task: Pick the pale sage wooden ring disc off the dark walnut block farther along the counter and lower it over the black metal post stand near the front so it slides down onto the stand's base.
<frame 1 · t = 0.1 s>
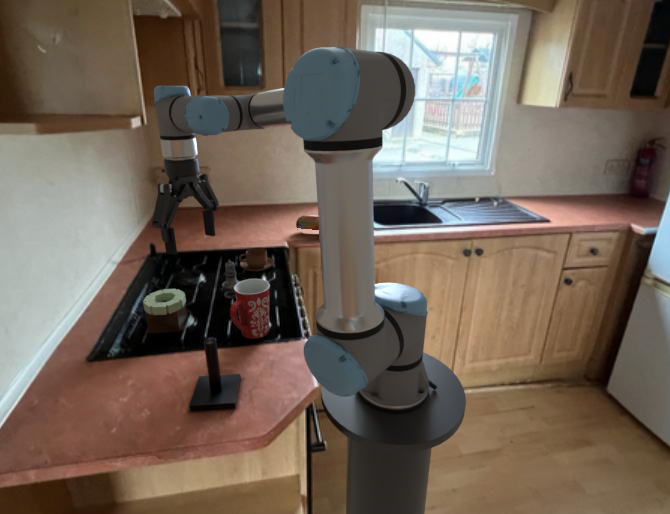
hand: (192, 244, 101), 25 cm above the worktop, tool pointing down, fingers open, 13 cm apart
ring disc: (165, 305, 110), point 6 cm above the worktop, touching riser
cup and saucer: (257, 267, 148), on the worktop
riser: (168, 324, 112), on the worktop
tin: (313, 234, 181), on the worktop
stand: (216, 394, 87), on the worktop
mug: (251, 335, 108), on the worktop
grey chess piece: (232, 294, 129), on the worktop
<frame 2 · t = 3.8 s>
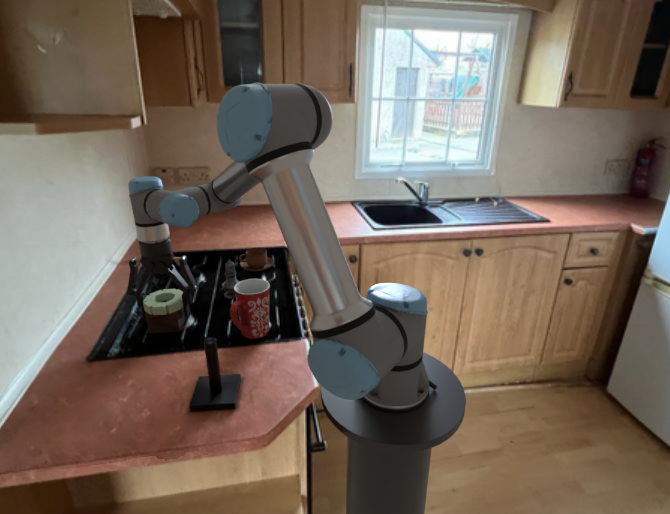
hand: (167, 315, 111), 3 cm above the worktop, tool pointing down, fingers closed on ring disc, 10 cm apart
ring disc: (165, 305, 110), point 6 cm above the worktop, touching gripper, riser
everything else where it was.
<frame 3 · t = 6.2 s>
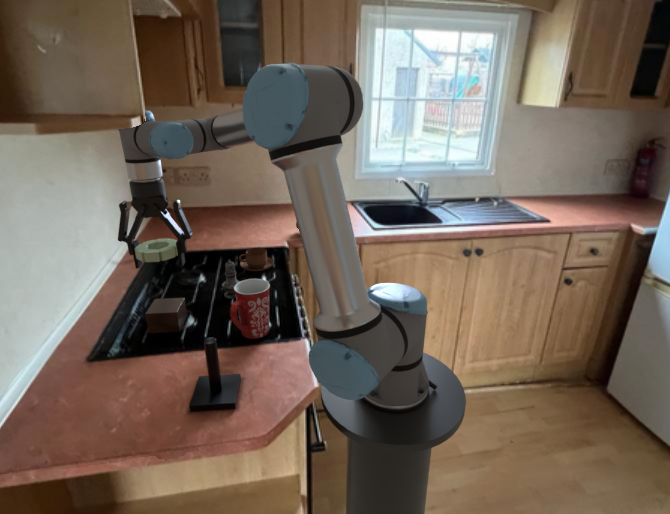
hand: (160, 265, 104), 18 cm above the worktop, tool pointing down, fingers closed on ring disc, 10 cm apart
ring disc: (159, 254, 103), point 22 cm above the worktop, touching gripper
everything else where it was.
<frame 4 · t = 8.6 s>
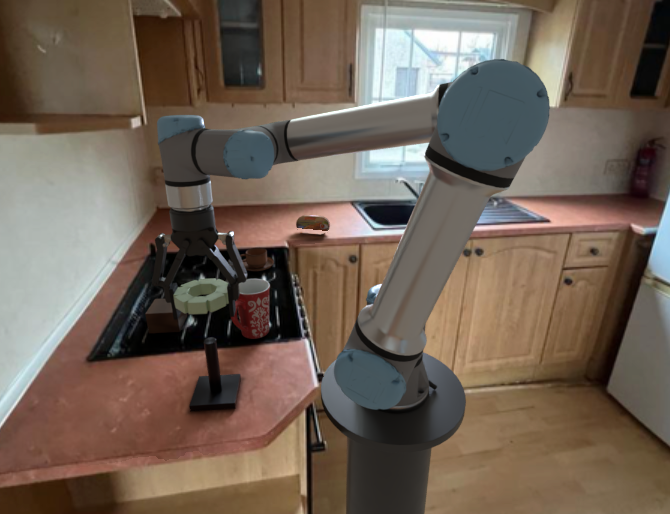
hand: (205, 314, 81), 19 cm above the worktop, tool pointing down, fingers closed on ring disc, 10 cm apart
ring disc: (203, 300, 80), point 22 cm above the worktop, touching gripper
everything else where it was.
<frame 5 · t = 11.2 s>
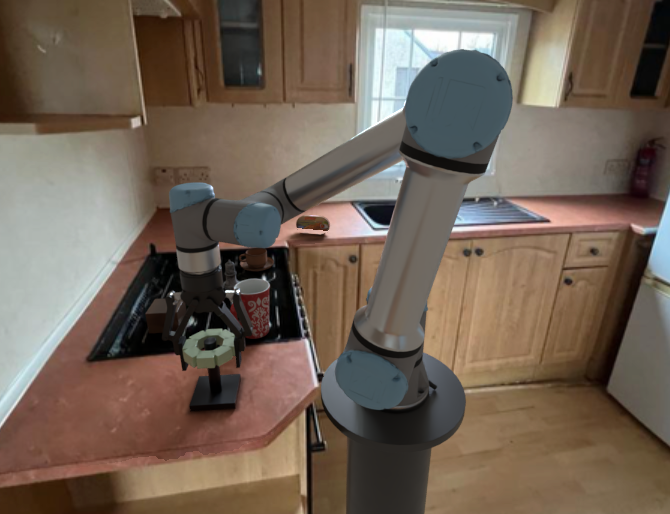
hand: (212, 365, 84), 8 cm above the worktop, tool pointing down, fingers closed on ring disc, 10 cm apart
ring disc: (211, 352, 83), point 11 cm above the worktop, touching gripper
everything else where it was.
when the fingers open (0 cm above the worktop, at t = 13.4 s): ring disc drops 2 cm, resting on stand.
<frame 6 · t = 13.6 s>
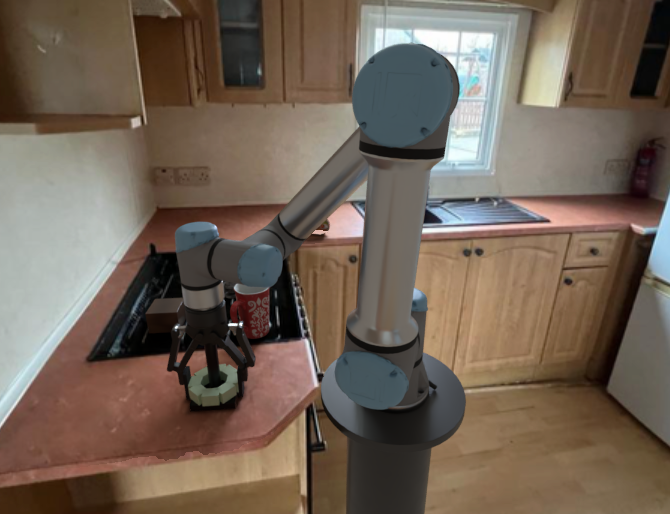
hand: (216, 393, 87), 0 cm above the worktop, tool pointing down, fingers open, 10 cm apart
ring disc: (215, 388, 86), point 2 cm above the worktop, touching gripper, stand
everything else where it was.
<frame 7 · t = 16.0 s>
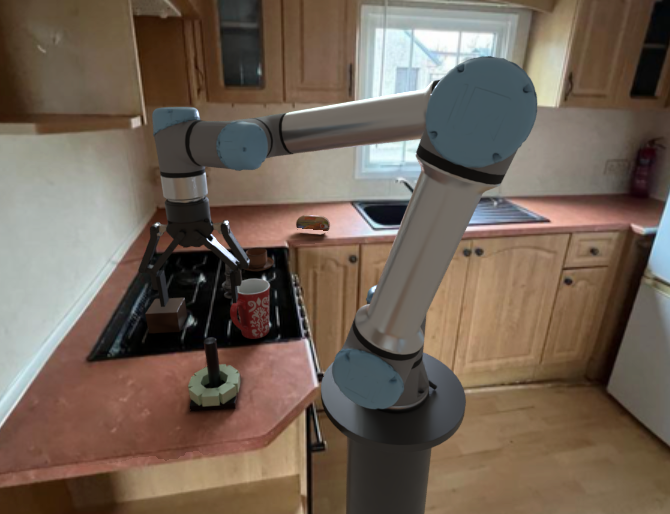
hand: (200, 301, 81), 21 cm above the worktop, tool pointing down, fingers open, 13 cm apart
ring disc: (215, 388, 86), point 1 cm above the worktop, touching stand
everything else where it was.
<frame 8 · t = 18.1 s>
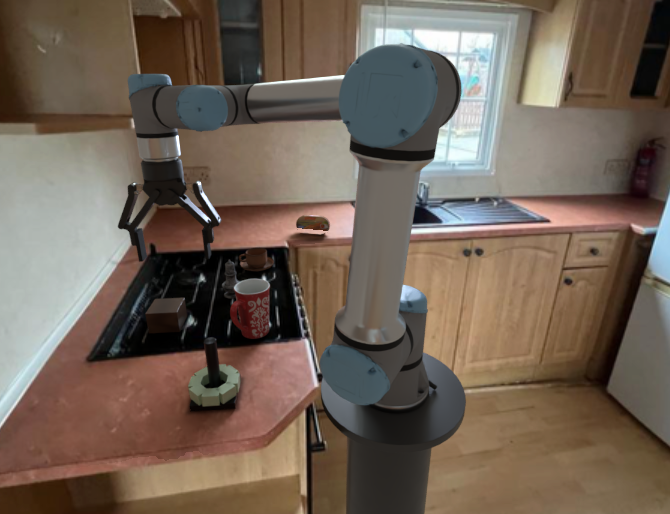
hand: (176, 258, 88), 27 cm above the worktop, tool pointing down, fingers open, 13 cm apart
nothing on the worktop moved.
at the end: ring disc 0.1 cm off-centre on the stand, point 1.5 cm above the stand's base; the gripper is holding nothing; ring disc tilted 0° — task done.
